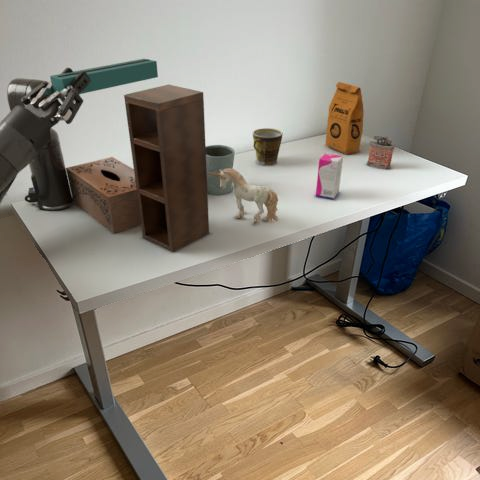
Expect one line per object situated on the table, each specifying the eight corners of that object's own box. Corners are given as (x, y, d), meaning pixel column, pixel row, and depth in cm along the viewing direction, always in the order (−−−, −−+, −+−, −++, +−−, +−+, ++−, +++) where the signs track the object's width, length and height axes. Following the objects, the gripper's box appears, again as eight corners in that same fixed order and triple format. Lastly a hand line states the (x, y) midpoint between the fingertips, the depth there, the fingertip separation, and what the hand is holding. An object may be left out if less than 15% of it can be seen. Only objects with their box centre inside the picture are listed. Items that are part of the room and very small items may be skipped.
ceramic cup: (262, 155, 176) (263, 126, 170) (286, 161, 172) (288, 131, 165) (241, 165, 168) (241, 136, 162) (266, 172, 163) (267, 141, 157)
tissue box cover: (161, 218, 136) (157, 183, 130) (114, 233, 129) (108, 197, 123) (117, 189, 152) (112, 156, 146) (73, 201, 145) (65, 167, 139)
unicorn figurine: (216, 208, 141) (214, 162, 133) (283, 217, 137) (285, 169, 129) (208, 219, 135) (206, 172, 127) (277, 228, 131) (280, 180, 123)
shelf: (172, 252, 121) (158, 103, 100) (142, 238, 127) (123, 94, 106) (209, 233, 129) (203, 92, 108) (179, 221, 135) (168, 84, 114)
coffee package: (342, 156, 175) (351, 90, 162) (321, 146, 184) (327, 82, 170) (364, 152, 179) (374, 86, 166) (341, 142, 188) (349, 79, 174)
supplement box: (339, 192, 150) (344, 155, 143) (333, 200, 146) (338, 161, 139) (320, 189, 152) (324, 152, 145) (314, 196, 148) (318, 158, 141)
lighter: (391, 167, 167) (397, 137, 161) (388, 170, 165) (394, 139, 159) (369, 162, 170) (373, 132, 164) (365, 165, 168) (370, 135, 162)
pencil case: (65, 97, 89) (62, 78, 87) (53, 93, 91) (49, 74, 89) (158, 77, 102) (156, 60, 100) (145, 74, 104) (143, 57, 102)
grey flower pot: (206, 181, 157) (205, 143, 149) (237, 184, 155) (237, 145, 148) (198, 194, 149) (196, 154, 142) (230, 197, 147) (230, 157, 140)
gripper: (12, 147, 94) (69, 84, 98) (53, 165, 86) (114, 96, 90) (-18, 115, 88) (45, 50, 91) (24, 132, 80) (91, 60, 84)
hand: (79, 73), depth 91 cm, fingers closed on pencil case, 4 cm apart
